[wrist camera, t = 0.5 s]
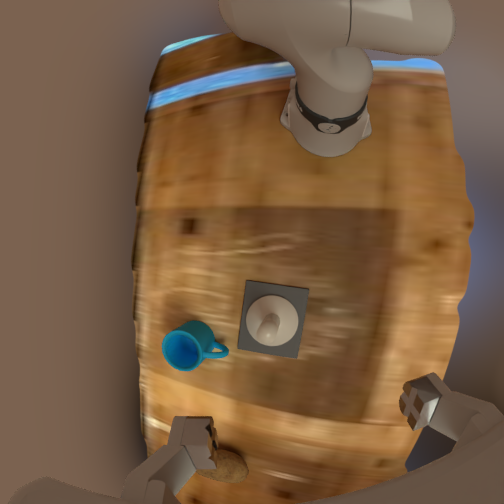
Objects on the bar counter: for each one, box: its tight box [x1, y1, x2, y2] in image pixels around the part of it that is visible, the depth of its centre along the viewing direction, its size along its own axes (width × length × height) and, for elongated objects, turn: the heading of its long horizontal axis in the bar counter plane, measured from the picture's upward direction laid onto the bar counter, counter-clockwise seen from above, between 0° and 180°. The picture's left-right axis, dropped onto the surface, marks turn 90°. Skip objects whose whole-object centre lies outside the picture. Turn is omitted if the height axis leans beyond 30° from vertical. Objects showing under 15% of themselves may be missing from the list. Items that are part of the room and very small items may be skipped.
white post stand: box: [246, 295, 298, 346], centre depth 49 cm, size 10×10×10 cm
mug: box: [162, 321, 229, 371], centre depth 52 cm, size 12×8×8 cm
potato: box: [196, 449, 249, 483], centre depth 52 cm, size 10×14×8 cm
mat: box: [238, 280, 309, 358], centre depth 54 cm, size 14×12×1 cm
